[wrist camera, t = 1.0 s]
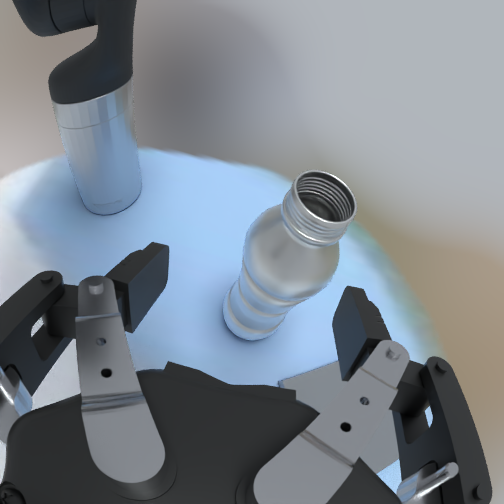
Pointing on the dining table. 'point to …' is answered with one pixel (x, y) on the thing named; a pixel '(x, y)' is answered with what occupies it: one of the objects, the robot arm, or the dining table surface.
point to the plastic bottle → (289, 254)
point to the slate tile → (324, 391)
